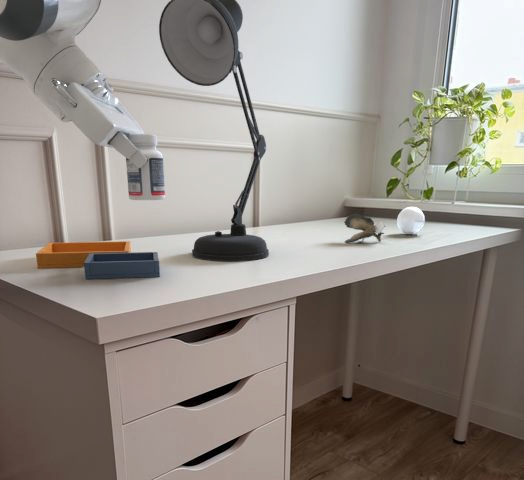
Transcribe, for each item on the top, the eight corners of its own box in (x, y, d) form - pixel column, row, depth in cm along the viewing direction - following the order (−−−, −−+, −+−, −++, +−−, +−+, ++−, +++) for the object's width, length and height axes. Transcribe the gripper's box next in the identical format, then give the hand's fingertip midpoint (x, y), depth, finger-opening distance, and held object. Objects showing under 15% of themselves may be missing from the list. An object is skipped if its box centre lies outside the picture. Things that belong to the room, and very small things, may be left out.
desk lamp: (178, 269, 90) (164, -38, 75) (158, 248, 113) (145, 10, 98) (307, 263, 97) (318, -19, 82) (264, 244, 120) (266, 21, 105)
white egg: (410, 236, 137) (413, 208, 135) (389, 233, 143) (392, 206, 140) (435, 234, 142) (439, 206, 140) (414, 231, 148) (417, 205, 146)
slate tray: (85, 279, 82) (83, 262, 81) (90, 268, 91) (89, 253, 90) (159, 276, 84) (159, 260, 83) (158, 266, 93) (157, 251, 92)
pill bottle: (164, 198, 79) (161, 136, 76) (165, 200, 75) (162, 134, 72) (129, 198, 78) (124, 135, 75) (128, 200, 73) (123, 133, 71)
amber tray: (37, 268, 90) (35, 253, 89) (50, 256, 103) (48, 242, 102) (129, 265, 93) (128, 251, 92) (131, 254, 106) (130, 241, 105)
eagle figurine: (374, 234, 131) (340, 227, 130) (385, 211, 126) (350, 204, 124) (378, 254, 127) (343, 248, 125) (390, 232, 121) (354, 224, 119)
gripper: (61, 55, 61) (148, 145, 64) (109, 83, 80) (174, 151, 84) (28, 96, 63) (115, 182, 66) (83, 114, 82) (148, 180, 85)
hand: (149, 165), depth 75 cm, fingers closed on pill bottle, 5 cm apart
